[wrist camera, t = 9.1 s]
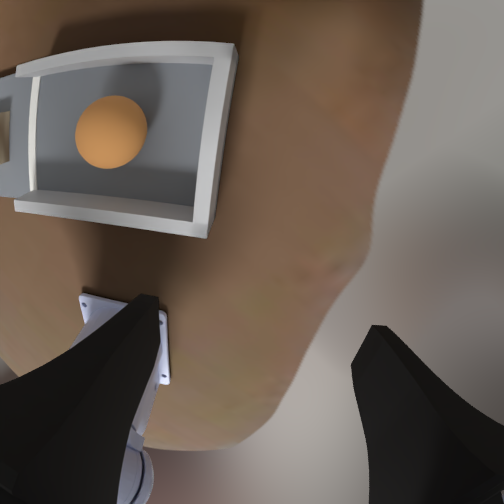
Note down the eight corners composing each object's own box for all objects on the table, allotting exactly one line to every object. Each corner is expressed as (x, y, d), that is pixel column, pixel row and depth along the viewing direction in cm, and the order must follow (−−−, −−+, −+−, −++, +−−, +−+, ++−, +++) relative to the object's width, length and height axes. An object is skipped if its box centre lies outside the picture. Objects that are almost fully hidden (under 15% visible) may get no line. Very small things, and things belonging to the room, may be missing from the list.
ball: (153, 163, 16) (128, 178, 12) (94, 160, 15) (60, 174, 12) (160, 97, 14) (136, 92, 10) (99, 97, 13) (64, 96, 10)
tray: (215, 217, 18) (206, 238, 15) (-13, 191, 17) (-36, 204, 14) (238, 56, 13) (233, 43, 10) (-12, 84, 12) (-38, 87, 9)
